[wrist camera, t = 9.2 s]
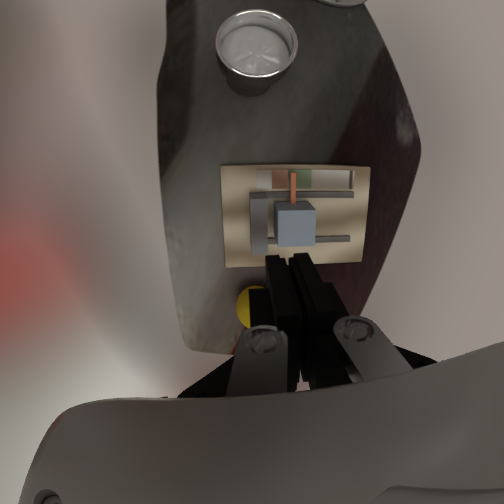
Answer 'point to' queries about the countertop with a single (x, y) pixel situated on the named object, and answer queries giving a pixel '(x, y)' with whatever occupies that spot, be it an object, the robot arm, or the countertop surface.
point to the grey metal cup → (255, 50)
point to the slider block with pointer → (294, 220)
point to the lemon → (244, 306)
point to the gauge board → (307, 189)
